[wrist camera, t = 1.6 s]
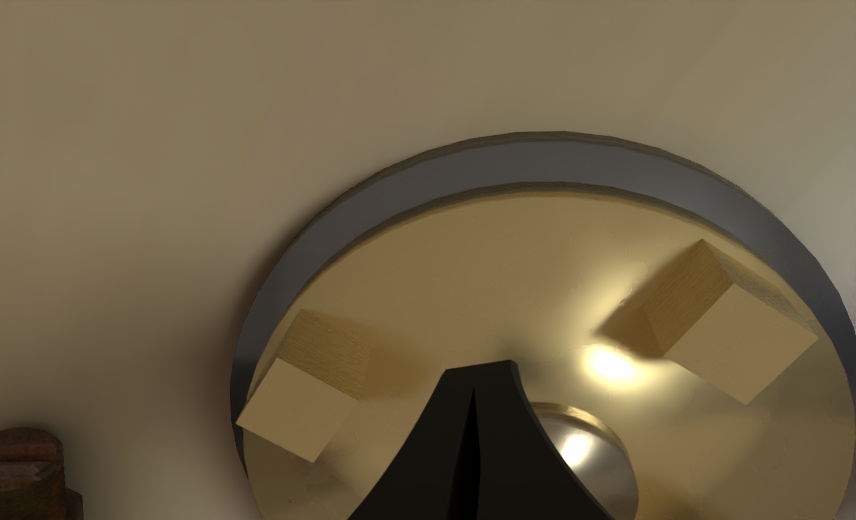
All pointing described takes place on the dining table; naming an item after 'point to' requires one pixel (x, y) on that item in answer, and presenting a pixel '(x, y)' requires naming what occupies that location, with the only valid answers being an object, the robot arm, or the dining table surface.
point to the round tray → (559, 357)
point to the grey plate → (536, 163)
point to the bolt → (34, 478)
